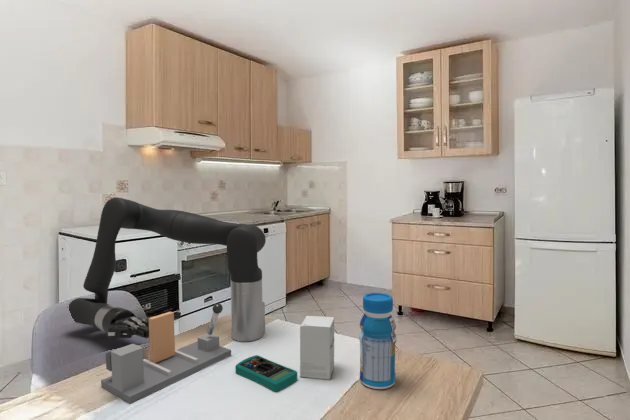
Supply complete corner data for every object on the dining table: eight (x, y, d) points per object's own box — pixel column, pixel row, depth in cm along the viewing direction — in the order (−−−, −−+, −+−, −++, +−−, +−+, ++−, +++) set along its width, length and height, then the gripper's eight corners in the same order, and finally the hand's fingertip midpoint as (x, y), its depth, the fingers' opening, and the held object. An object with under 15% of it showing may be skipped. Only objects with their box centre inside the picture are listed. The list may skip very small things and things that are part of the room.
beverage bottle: (372, 394, 85) (372, 303, 84) (352, 376, 93) (352, 293, 91) (403, 385, 89) (404, 298, 87) (381, 369, 96) (382, 289, 95)
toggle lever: (210, 330, 107) (219, 300, 104) (215, 335, 106) (225, 306, 103) (202, 333, 105) (211, 302, 102) (208, 339, 104) (218, 308, 101)
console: (201, 344, 112) (201, 311, 111) (231, 355, 105) (230, 320, 104) (101, 386, 89) (99, 345, 88) (130, 403, 82) (128, 359, 81)
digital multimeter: (256, 363, 101) (255, 352, 101) (299, 381, 92) (298, 369, 91) (233, 374, 96) (233, 362, 95) (276, 395, 86) (276, 382, 86)
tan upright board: (171, 353, 102) (170, 311, 101) (175, 354, 101) (173, 312, 100) (150, 361, 97) (148, 318, 96) (153, 363, 96) (152, 319, 95)
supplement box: (330, 380, 91) (330, 327, 90) (299, 377, 93) (298, 325, 92) (335, 365, 99) (335, 316, 98) (306, 363, 100) (306, 314, 99)
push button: (122, 362, 91) (121, 347, 91) (126, 365, 90) (125, 349, 90) (106, 368, 89) (105, 353, 88) (110, 371, 87) (110, 355, 87)
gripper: (89, 314, 106) (123, 327, 96) (136, 301, 117) (171, 312, 107) (91, 341, 107) (125, 357, 97) (137, 326, 117) (172, 339, 107)
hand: (149, 333), depth 102 cm, fingers closed
